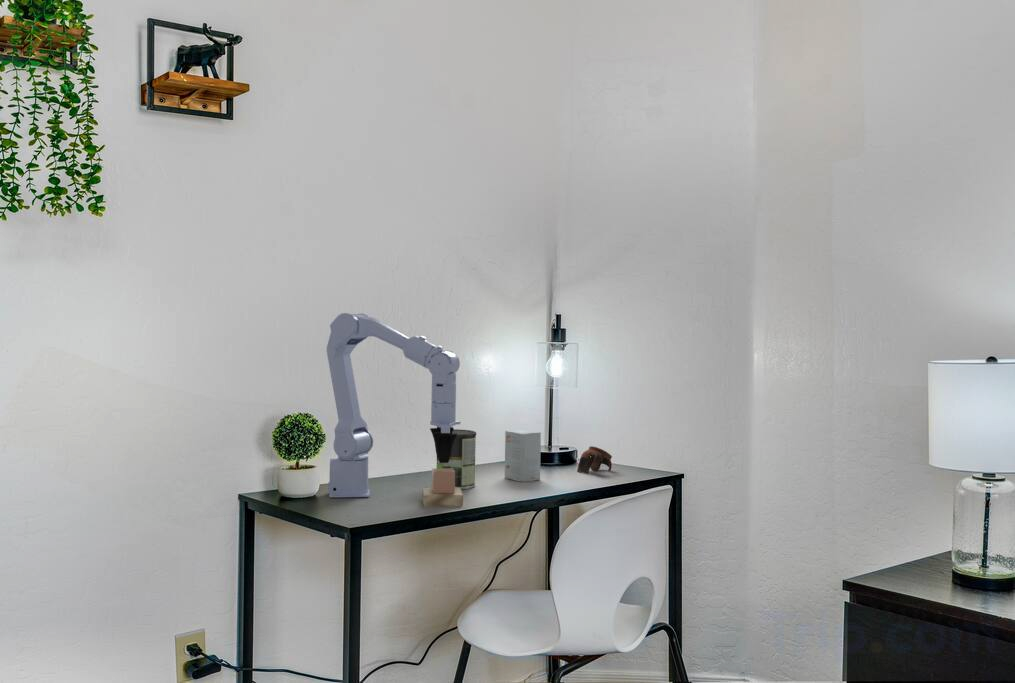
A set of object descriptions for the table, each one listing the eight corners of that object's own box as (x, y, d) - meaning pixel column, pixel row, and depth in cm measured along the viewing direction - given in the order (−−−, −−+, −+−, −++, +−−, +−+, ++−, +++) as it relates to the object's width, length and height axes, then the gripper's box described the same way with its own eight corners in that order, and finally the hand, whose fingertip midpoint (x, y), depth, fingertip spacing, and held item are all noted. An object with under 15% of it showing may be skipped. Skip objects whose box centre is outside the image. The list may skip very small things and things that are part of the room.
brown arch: (571, 470, 254) (583, 445, 257) (600, 485, 254) (611, 460, 257) (580, 466, 243) (592, 440, 245) (610, 482, 243) (622, 455, 245)
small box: (540, 480, 235) (541, 432, 235) (522, 482, 231) (523, 433, 231) (521, 475, 242) (522, 429, 241) (503, 478, 238) (504, 430, 237)
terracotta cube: (433, 493, 201) (433, 472, 201) (431, 489, 206) (431, 468, 206) (454, 493, 202) (454, 471, 202) (452, 489, 207) (452, 468, 207)
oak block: (423, 508, 199) (423, 495, 199) (422, 500, 208) (422, 488, 208) (462, 507, 201) (463, 494, 200) (459, 499, 209) (460, 487, 209)
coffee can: (442, 490, 218) (442, 434, 218) (431, 483, 228) (431, 429, 228) (481, 488, 222) (481, 433, 222) (468, 481, 231) (469, 428, 231)
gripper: (463, 405, 197) (462, 464, 198) (457, 399, 212) (456, 455, 212) (432, 405, 196) (431, 465, 197) (428, 399, 211) (427, 455, 211)
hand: (442, 460), depth 204 cm, fingers open, 7 cm apart
